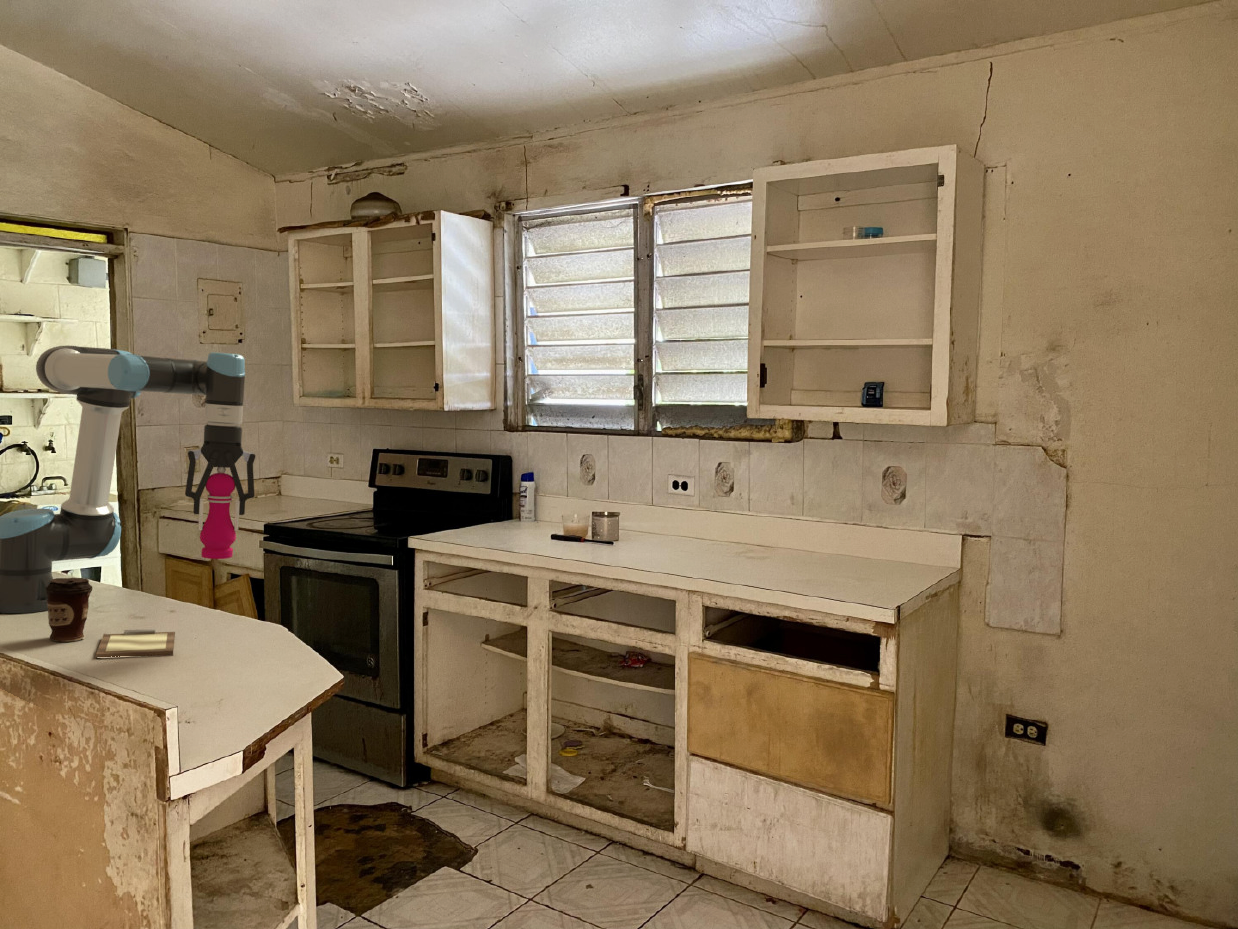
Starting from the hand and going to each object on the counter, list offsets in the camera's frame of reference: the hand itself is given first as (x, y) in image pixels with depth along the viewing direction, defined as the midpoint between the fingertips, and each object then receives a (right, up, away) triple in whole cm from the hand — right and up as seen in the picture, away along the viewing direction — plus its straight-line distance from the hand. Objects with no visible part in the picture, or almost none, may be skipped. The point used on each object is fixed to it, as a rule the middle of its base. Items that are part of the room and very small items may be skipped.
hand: (218, 529), depth 199 cm
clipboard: (-15, -25, -5) cm, 29 cm away
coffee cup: (-32, -24, -3) cm, 39 cm away
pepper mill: (0, -6, 0) cm, 6 cm away
